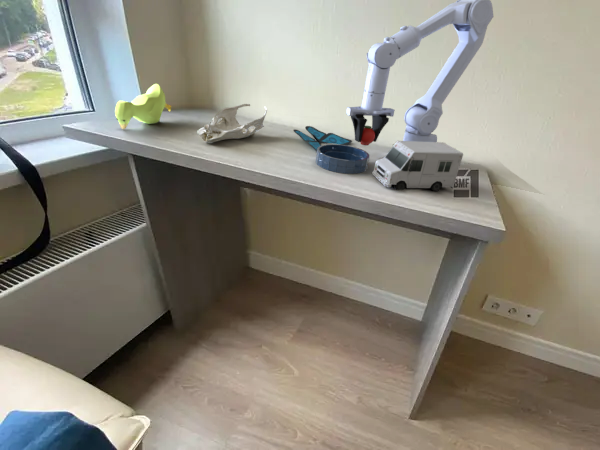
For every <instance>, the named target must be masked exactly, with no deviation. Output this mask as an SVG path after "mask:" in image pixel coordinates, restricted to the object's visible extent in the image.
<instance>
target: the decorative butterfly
mask: <svg viewBox="0 0 600 450" xmlns="http://www.w3.org/2000/svg"><path fill="white" fill-rule="evenodd" d="M305 130H306V131H307V132H308V133H309V134H310V135H311V136H312V137H311V136H309V135H308V134H306V133H305V132H303V131H300V130H298V129H295V128H294V129H293V133H294V134H296V135H297V136H298V137H299V138H301V140H302V141H304V142H307V144H308V145H310V146H311V147H312V148H313V149H314V150H315V151H316V152H317V148H318V147H319V146H322V145H323V144H325V145H327V144H340V145H347V146H350V145H351V144H352V143H353V140H352V139H349V138H346V137H342V136H341V135H338V134H335V133H333V132H328V133H326V132H323V131H321V130H319V129H317V128H316V127H314V126H311V125H307V126H305Z"/></svg>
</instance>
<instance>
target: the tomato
mask: <svg viewBox="0 0 600 450" xmlns="http://www.w3.org/2000/svg"><path fill="white" fill-rule="evenodd" d="M374 139H375V132H374V130H373V129H372V125H365V127H364V130H363V134H362V139H361V142H359V143H360V145H362V146H369V145H370V144H372V143H374V142H373V141H374Z"/></svg>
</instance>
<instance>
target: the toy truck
mask: <svg viewBox="0 0 600 450" xmlns="http://www.w3.org/2000/svg"><path fill="white" fill-rule="evenodd" d="M463 156H464V152H462V151H460V150H458V149H456V148H454V147H453V146H450V145H449V144H447V143H445V142H444V141H443V142H441V141H440V142H439V141H437V142H416V141H403V140H397V141H395V143H393V145H392V147H391V148H390V150H389V151H388V152H387V153H386V155H385V156H384V157H382V158H379V159H377V160H375V164H374V168H373V170H372V173H371V174H372V175H373V176H374V177H375V178H376V179H377V180H378V181H379V182H380V183H381V184H382V185H383V186H384V187H386V188H391V187H392V185H394V186H393V188H394V189H395V190H397V191H403V190H404V189H405V188H406V189H430V190H431V191H432V192H438V191H439V190H440V189H441V188H450V189H454V186H455V183H456V180H457V177H458V173H459V170H460V166H461V163H462V161H463Z"/></svg>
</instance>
